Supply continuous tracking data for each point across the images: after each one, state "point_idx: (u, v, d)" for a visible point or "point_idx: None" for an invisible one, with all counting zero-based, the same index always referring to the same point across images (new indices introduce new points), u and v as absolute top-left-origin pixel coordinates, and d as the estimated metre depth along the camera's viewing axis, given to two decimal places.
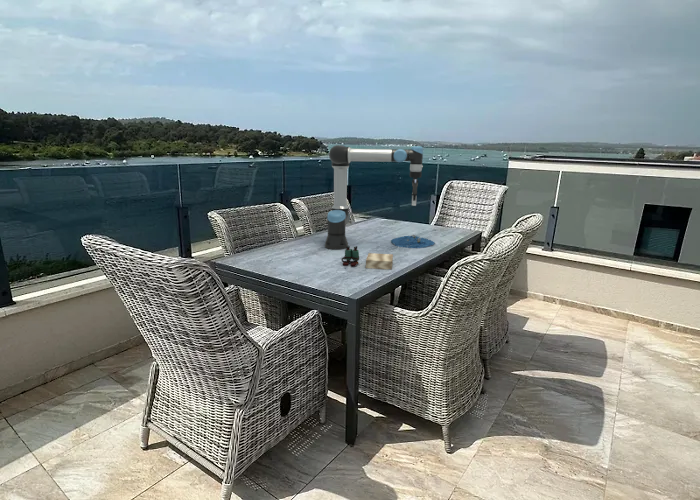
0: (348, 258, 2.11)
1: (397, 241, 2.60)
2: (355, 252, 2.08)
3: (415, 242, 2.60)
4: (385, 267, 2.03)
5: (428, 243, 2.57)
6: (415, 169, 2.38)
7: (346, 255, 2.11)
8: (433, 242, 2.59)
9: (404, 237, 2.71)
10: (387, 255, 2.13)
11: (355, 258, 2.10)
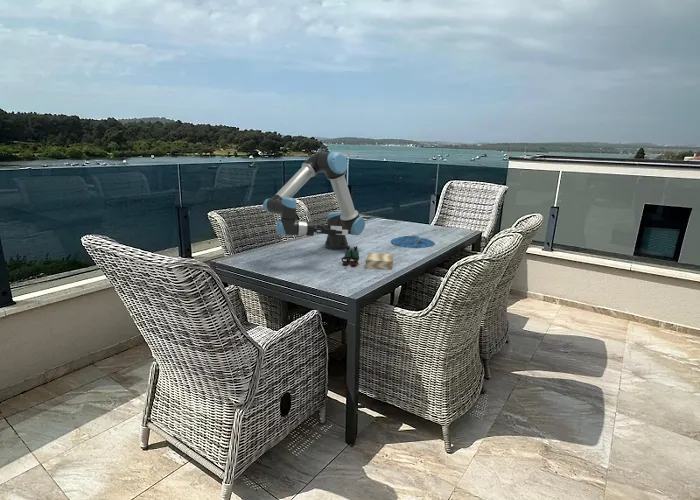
0: (348, 258, 2.11)
1: (397, 241, 2.60)
2: (355, 252, 2.08)
3: (415, 242, 2.60)
4: (385, 267, 2.03)
5: (428, 243, 2.57)
6: None
7: (346, 255, 2.11)
8: (433, 242, 2.59)
9: (404, 237, 2.71)
10: (387, 255, 2.13)
11: (355, 258, 2.10)
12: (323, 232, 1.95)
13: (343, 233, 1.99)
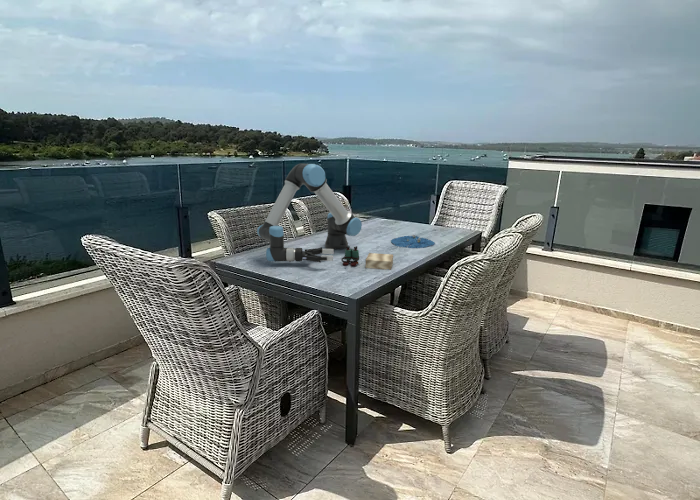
0: (348, 258, 2.11)
1: (397, 241, 2.60)
2: (355, 252, 2.08)
3: (415, 242, 2.60)
4: (385, 267, 2.03)
5: (428, 243, 2.57)
6: None
7: (346, 255, 2.11)
8: (433, 242, 2.59)
9: (404, 237, 2.71)
10: (387, 255, 2.13)
11: (355, 258, 2.10)
12: (308, 259, 2.01)
13: (328, 259, 2.02)
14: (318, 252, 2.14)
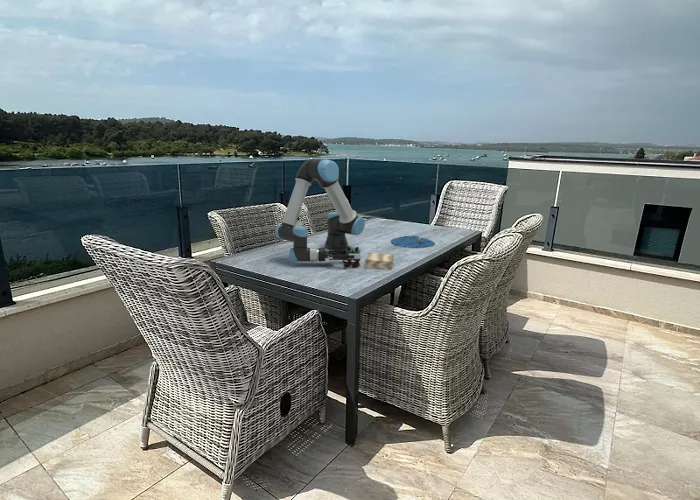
0: (349, 259, 2.09)
1: (397, 241, 2.60)
2: (356, 253, 2.07)
3: (415, 242, 2.60)
4: (384, 267, 2.03)
5: (428, 243, 2.57)
6: None
7: None
8: (433, 242, 2.59)
9: (404, 237, 2.71)
10: (387, 255, 2.13)
11: (356, 259, 2.08)
12: (335, 258, 2.03)
13: (355, 257, 2.05)
14: (343, 253, 2.12)
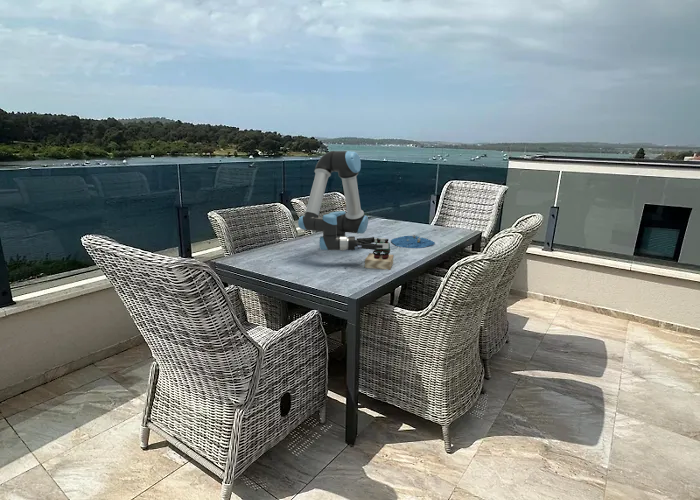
0: (379, 251, 2.09)
1: (397, 241, 2.60)
2: None
3: (415, 242, 2.60)
4: (384, 267, 2.03)
5: (428, 243, 2.57)
6: None
7: None
8: (433, 242, 2.59)
9: (404, 237, 2.71)
10: None
11: (386, 251, 2.08)
12: (363, 247, 2.00)
13: (384, 247, 2.02)
14: (370, 241, 2.12)
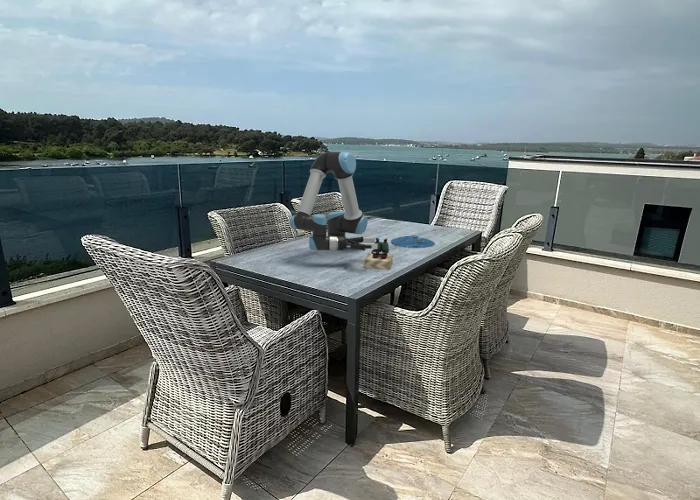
0: (377, 251, 2.10)
1: (397, 241, 2.60)
2: (385, 244, 2.07)
3: (415, 242, 2.60)
4: (383, 267, 2.04)
5: (428, 243, 2.57)
6: None
7: None
8: (433, 242, 2.59)
9: (404, 237, 2.71)
10: None
11: (385, 250, 2.08)
12: (352, 247, 2.00)
13: (373, 247, 2.01)
14: (359, 241, 2.13)
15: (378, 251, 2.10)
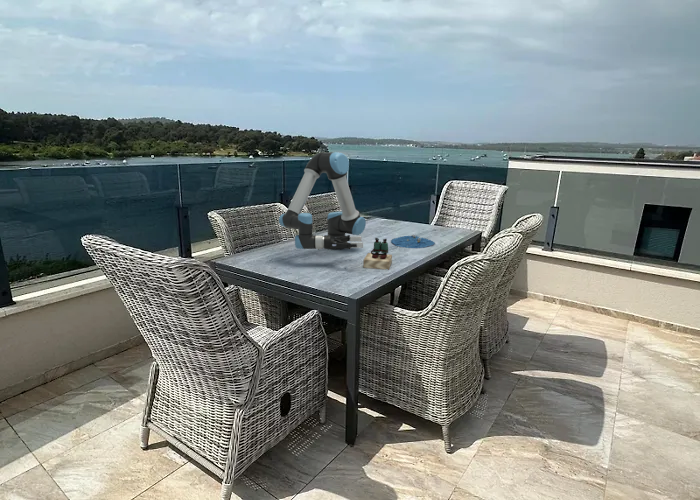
0: (377, 251, 2.10)
1: (397, 241, 2.60)
2: (384, 244, 2.07)
3: (415, 242, 2.60)
4: (382, 267, 2.04)
5: (428, 243, 2.57)
6: None
7: (375, 248, 2.09)
8: (433, 242, 2.59)
9: (404, 237, 2.71)
10: None
11: (384, 250, 2.08)
12: (338, 246, 2.00)
13: (358, 246, 2.00)
14: (346, 240, 2.13)
15: (377, 251, 2.10)
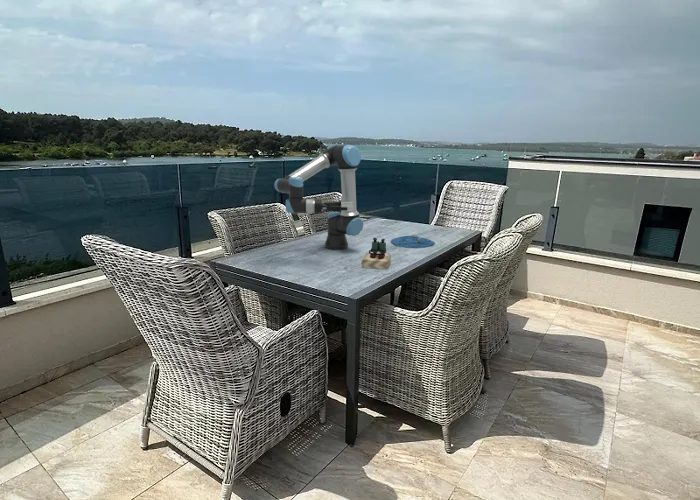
0: (375, 250, 2.10)
1: (397, 241, 2.60)
2: (382, 244, 2.07)
3: (415, 242, 2.60)
4: (381, 267, 2.04)
5: (428, 243, 2.57)
6: None
7: (373, 247, 2.10)
8: (433, 242, 2.59)
9: (404, 237, 2.71)
10: (385, 255, 2.13)
11: (382, 250, 2.08)
12: (328, 209, 2.00)
13: (349, 209, 2.00)
14: (337, 205, 2.13)
15: (375, 251, 2.10)
